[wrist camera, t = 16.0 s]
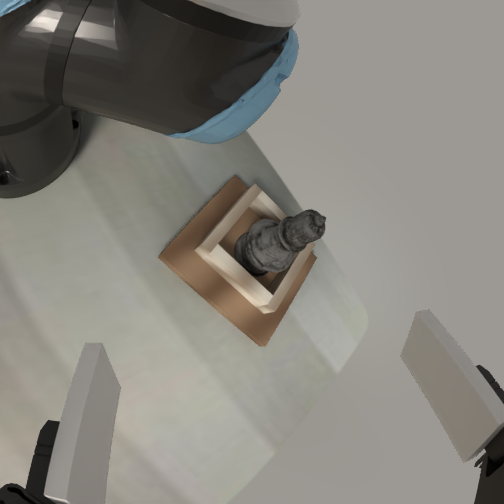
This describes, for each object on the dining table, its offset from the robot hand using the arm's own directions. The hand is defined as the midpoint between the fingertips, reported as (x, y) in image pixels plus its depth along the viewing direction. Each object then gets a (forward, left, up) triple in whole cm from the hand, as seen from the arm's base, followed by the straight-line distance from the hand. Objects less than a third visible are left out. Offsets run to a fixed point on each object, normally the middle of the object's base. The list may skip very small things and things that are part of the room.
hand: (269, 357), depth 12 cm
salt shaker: (+2, +16, -20) cm, 25 cm away
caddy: (+2, +15, -21) cm, 26 cm away
